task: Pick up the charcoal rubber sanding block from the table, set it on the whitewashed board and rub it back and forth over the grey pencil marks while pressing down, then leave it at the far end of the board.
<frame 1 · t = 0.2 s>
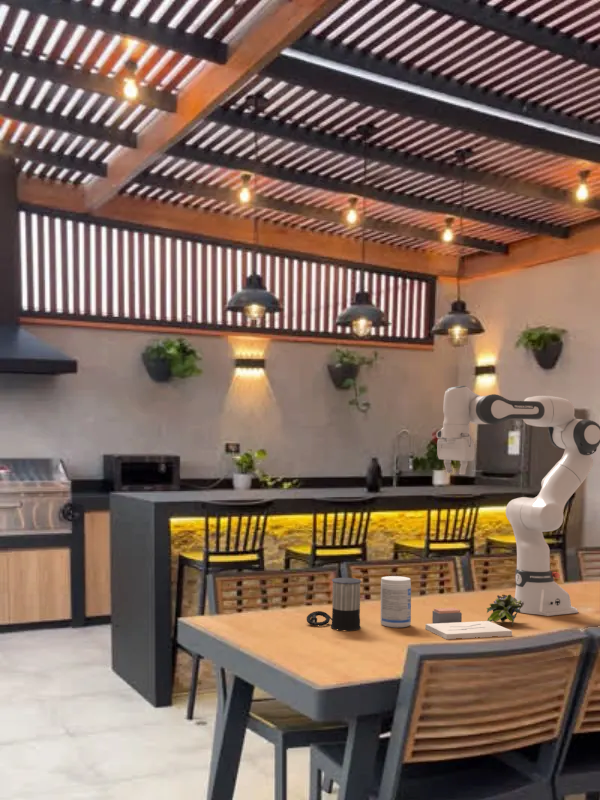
hand: (455, 473, 285), 47 cm above the table, tool pointing down, fingers open, 8 cm apart
sanding block: (446, 624, 268), on the table
milk frother: (333, 627, 260), on the table
board: (468, 632, 257), on the table
supplement tub: (395, 625, 265), on the table
green leafy plant: (505, 624, 270), on the table
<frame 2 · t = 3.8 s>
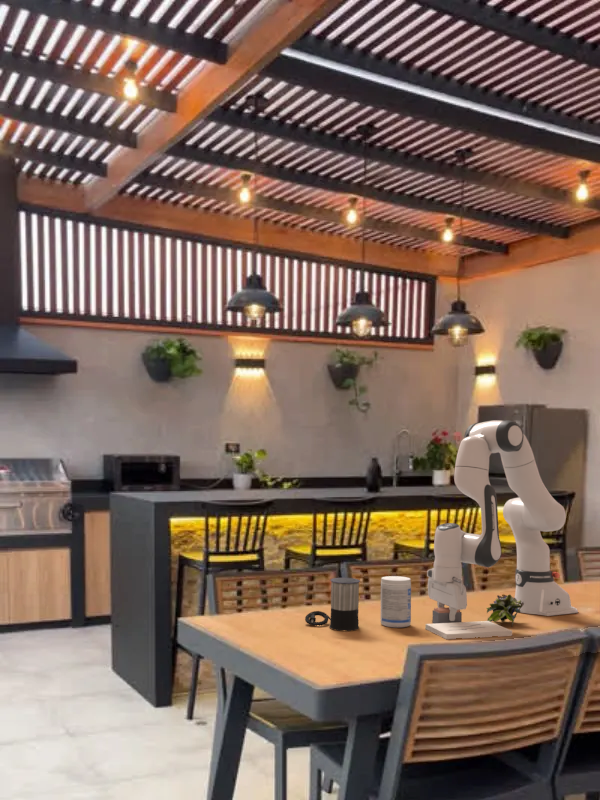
hand: (446, 618, 268), 2 cm above the table, tool pointing down, fingers closed on sanding block, 5 cm apart
sanding block: (446, 624, 268), on the table, touching gripper
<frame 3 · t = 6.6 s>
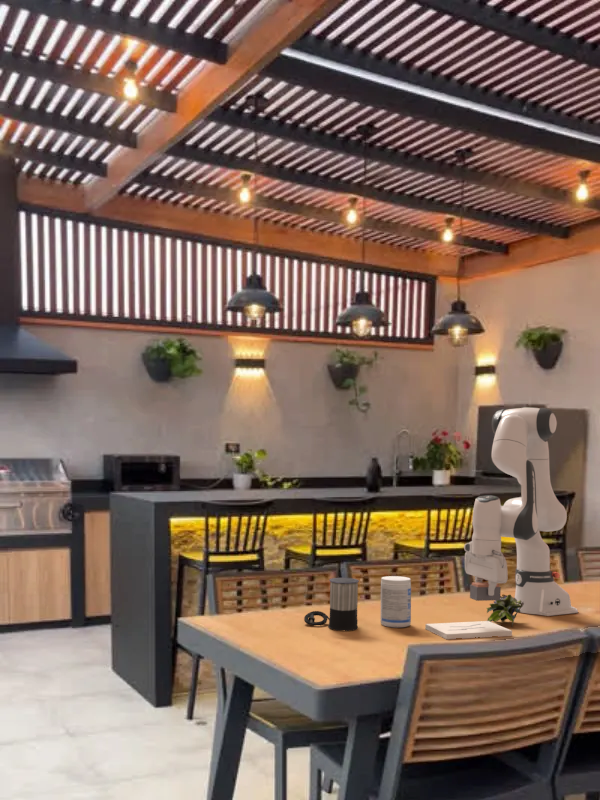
hand: (485, 593, 259), 12 cm above the table, tool pointing down, fingers closed on sanding block, 5 cm apart
sanding block: (485, 599, 259), point 10 cm above the table, touching gripper
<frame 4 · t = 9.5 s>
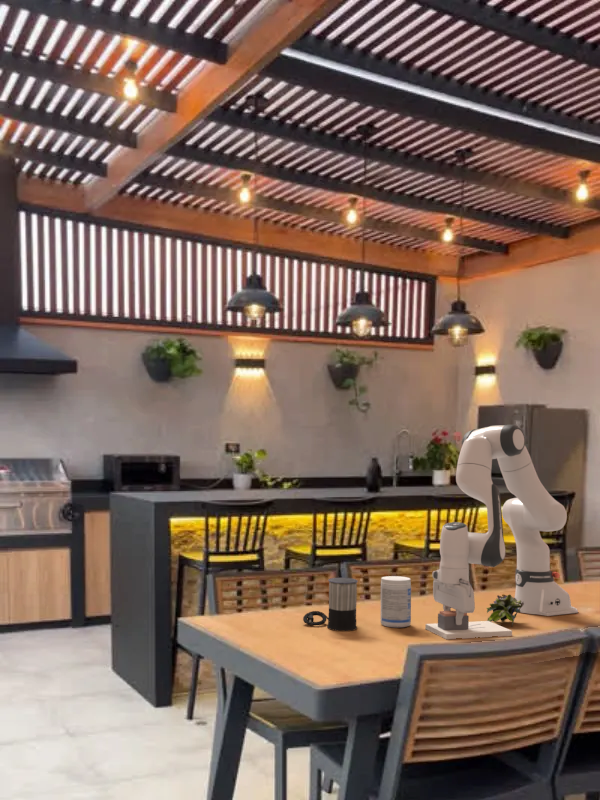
hand: (453, 622, 255), 3 cm above the table, tool pointing down, fingers closed on sanding block, 5 cm apart
sanding block: (453, 628, 255), point 2 cm above the table, touching gripper
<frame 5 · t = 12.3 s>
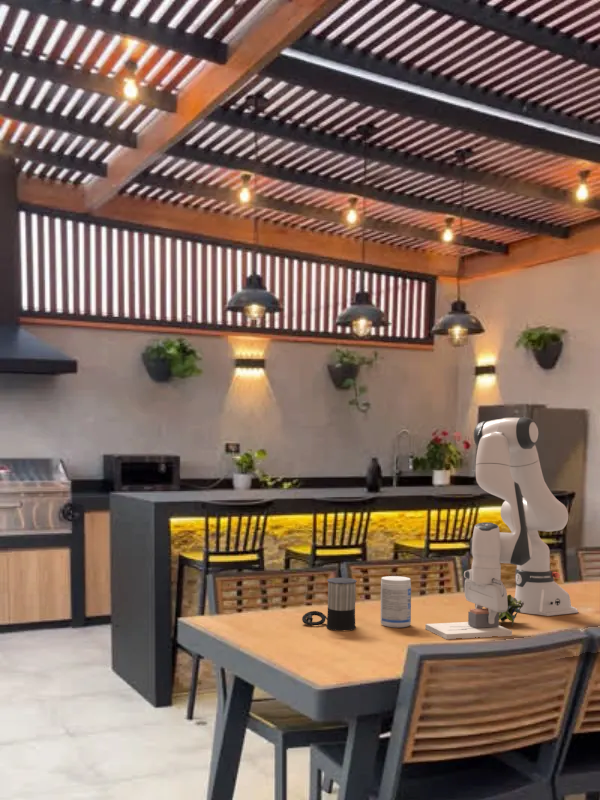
hand: (485, 621, 259), 3 cm above the table, tool pointing down, fingers closed on sanding block, 4 cm apart
sanding block: (483, 625, 258), point 2 cm above the table, touching gripper
when the fingers open (3 cm above the table, at t = 15.0 s): sanding block stays where it is, resting on board.
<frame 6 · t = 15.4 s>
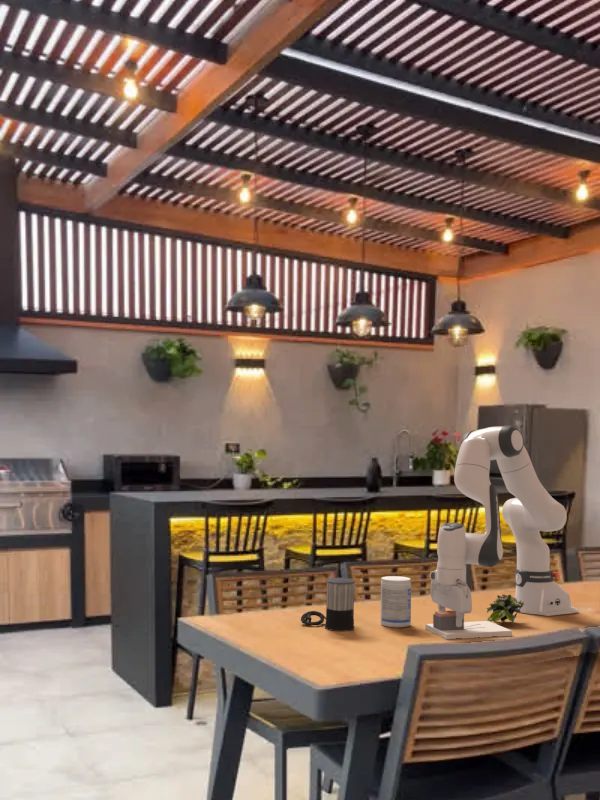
hand: (450, 622, 255), 3 cm above the table, tool pointing down, fingers open, 8 cm apart
sanding block: (448, 628, 255), point 2 cm above the table, touching board
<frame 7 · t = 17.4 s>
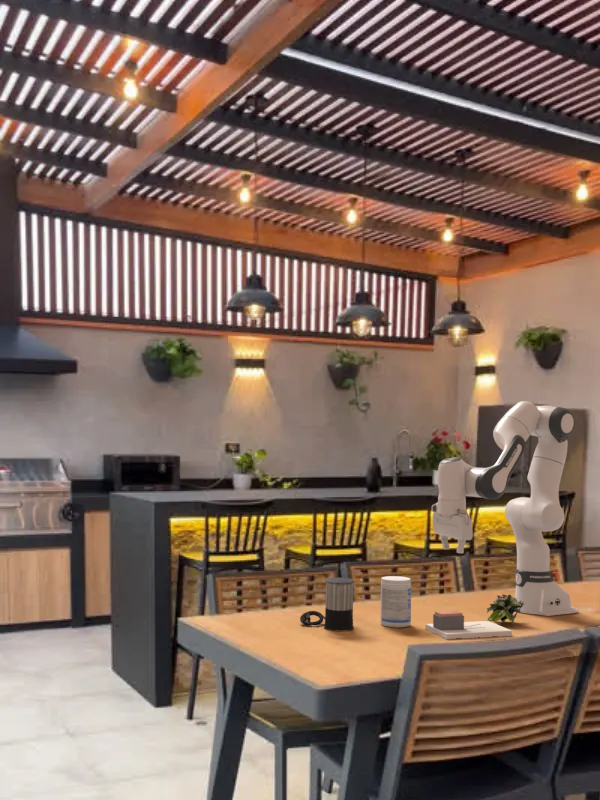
hand: (453, 551, 270), 23 cm above the table, tool pointing down, fingers open, 8 cm apart
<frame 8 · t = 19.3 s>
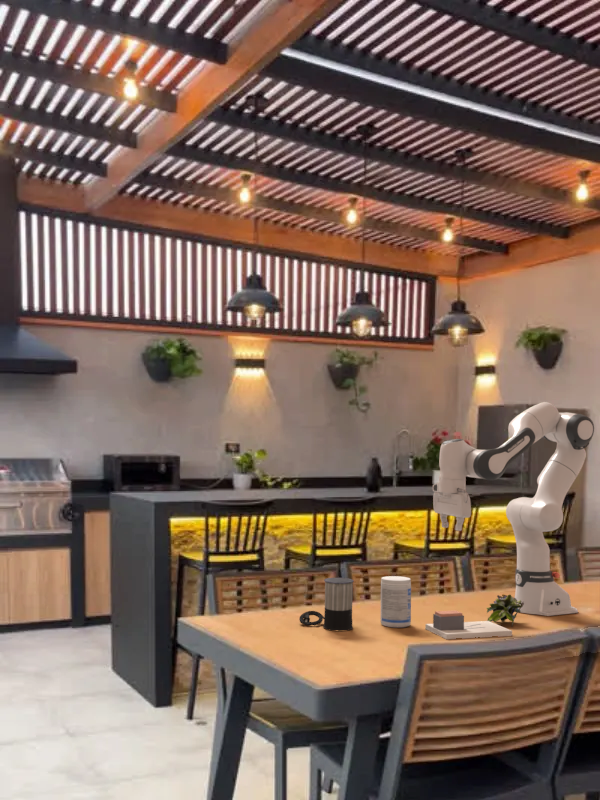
hand: (451, 529, 279), 29 cm above the table, tool pointing down, fingers open, 8 cm apart
at the end: sanding block inside the target area on the board (6.0 cm from its centre), point 1.5 cm above the board's base; sanding block tilted 0°; sanding block moved 13.4 cm from its start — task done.
